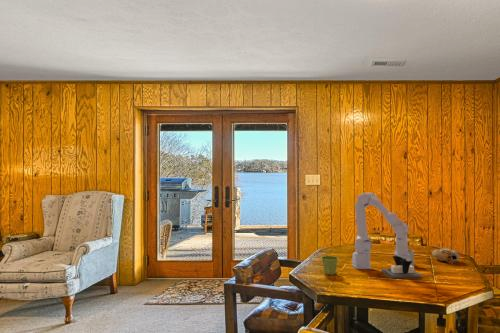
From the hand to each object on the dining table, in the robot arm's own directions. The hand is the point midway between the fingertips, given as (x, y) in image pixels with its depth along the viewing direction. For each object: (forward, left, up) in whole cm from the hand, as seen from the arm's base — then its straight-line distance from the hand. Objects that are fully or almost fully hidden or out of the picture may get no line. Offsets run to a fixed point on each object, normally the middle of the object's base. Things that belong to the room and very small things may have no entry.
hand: (402, 271), depth 183 cm
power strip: (0, 0, -2) cm, 2 cm away
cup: (+12, +21, -2) cm, 24 cm away
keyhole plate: (0, +2, -2) cm, 3 cm away
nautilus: (+40, +25, -2) cm, 47 cm away
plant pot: (-38, +6, -2) cm, 38 cm away
